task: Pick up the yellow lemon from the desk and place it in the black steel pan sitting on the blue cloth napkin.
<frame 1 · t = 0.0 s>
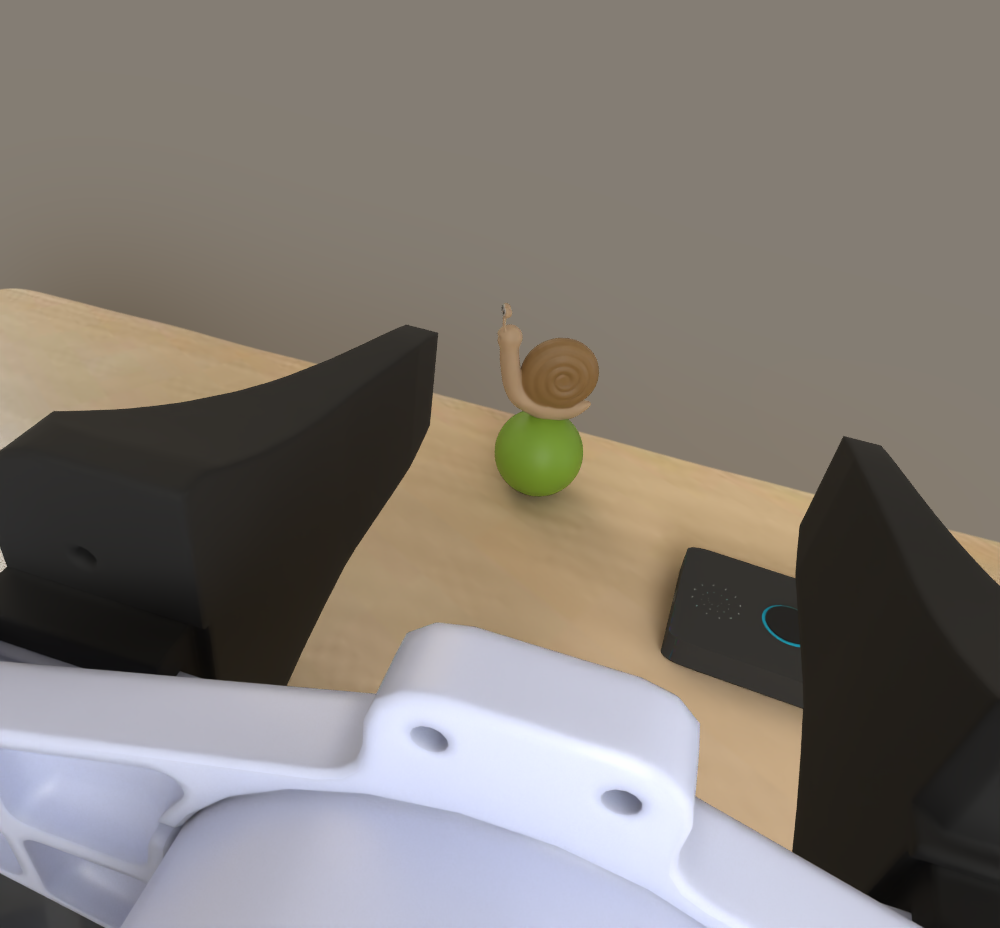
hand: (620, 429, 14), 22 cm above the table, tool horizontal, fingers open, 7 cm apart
snail figurine: (523, 489, 51), on the table
smart home device: (857, 674, 41), on the table
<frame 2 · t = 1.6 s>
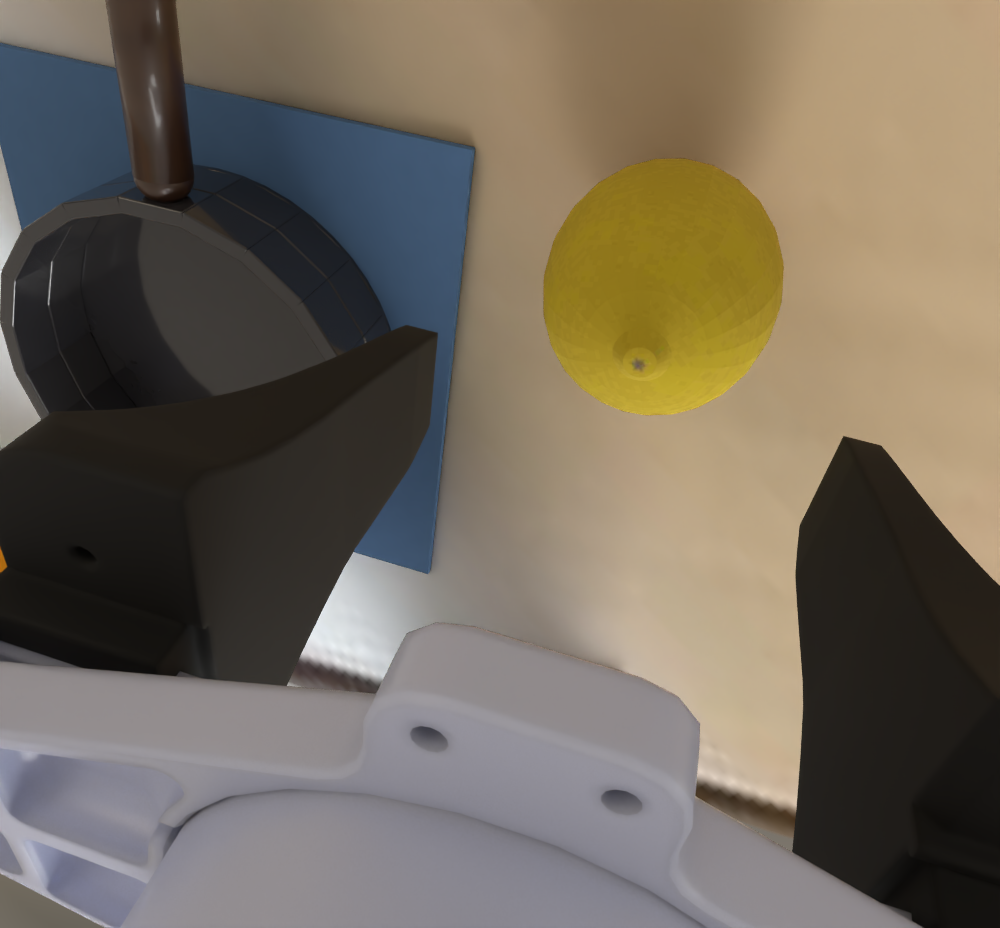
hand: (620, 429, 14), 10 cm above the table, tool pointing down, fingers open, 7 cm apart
napkin: (238, 342, 29), on the table
lemon: (677, 226, 22), on the table
pan handle: (144, 29, 20), point 2 cm above the table
pan: (238, 342, 29), resting on napkin
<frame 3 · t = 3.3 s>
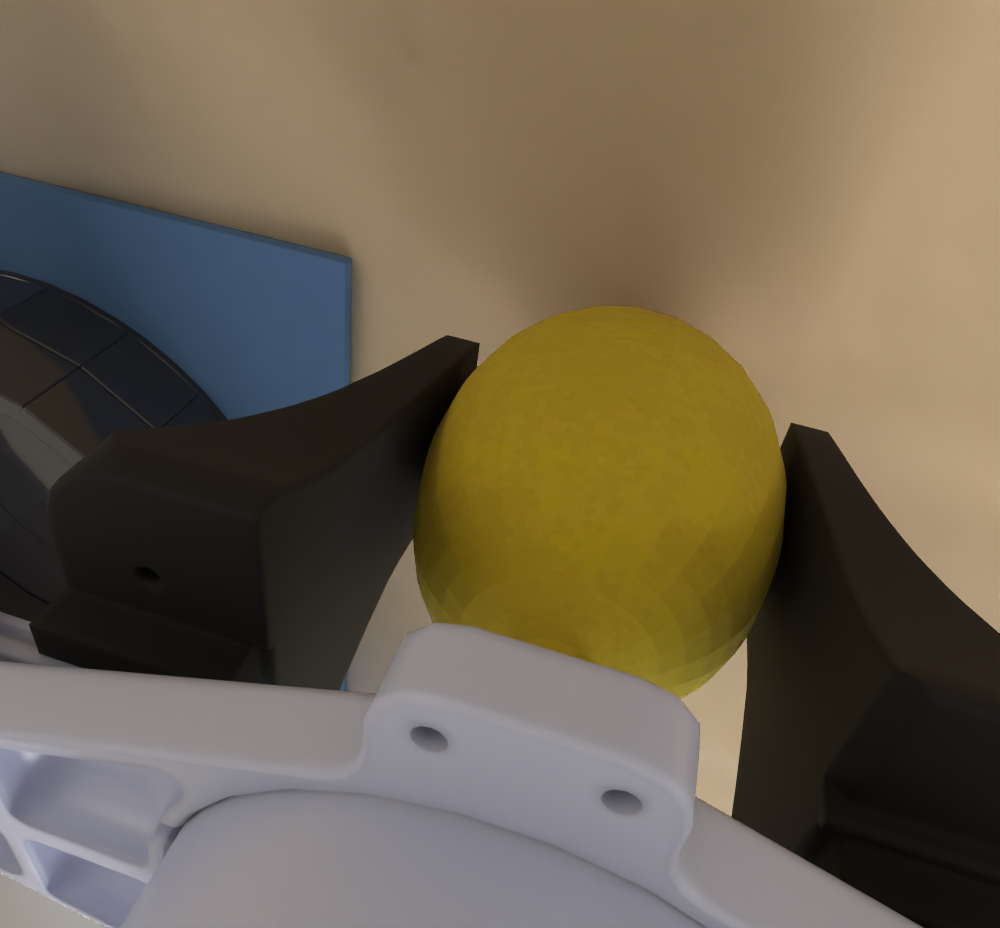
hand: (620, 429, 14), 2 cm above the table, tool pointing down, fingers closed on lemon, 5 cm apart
napkin: (80, 478, 22), on the table
lemon: (635, 369, 16), on the table, touching gripper
pan: (80, 478, 22), resting on napkin
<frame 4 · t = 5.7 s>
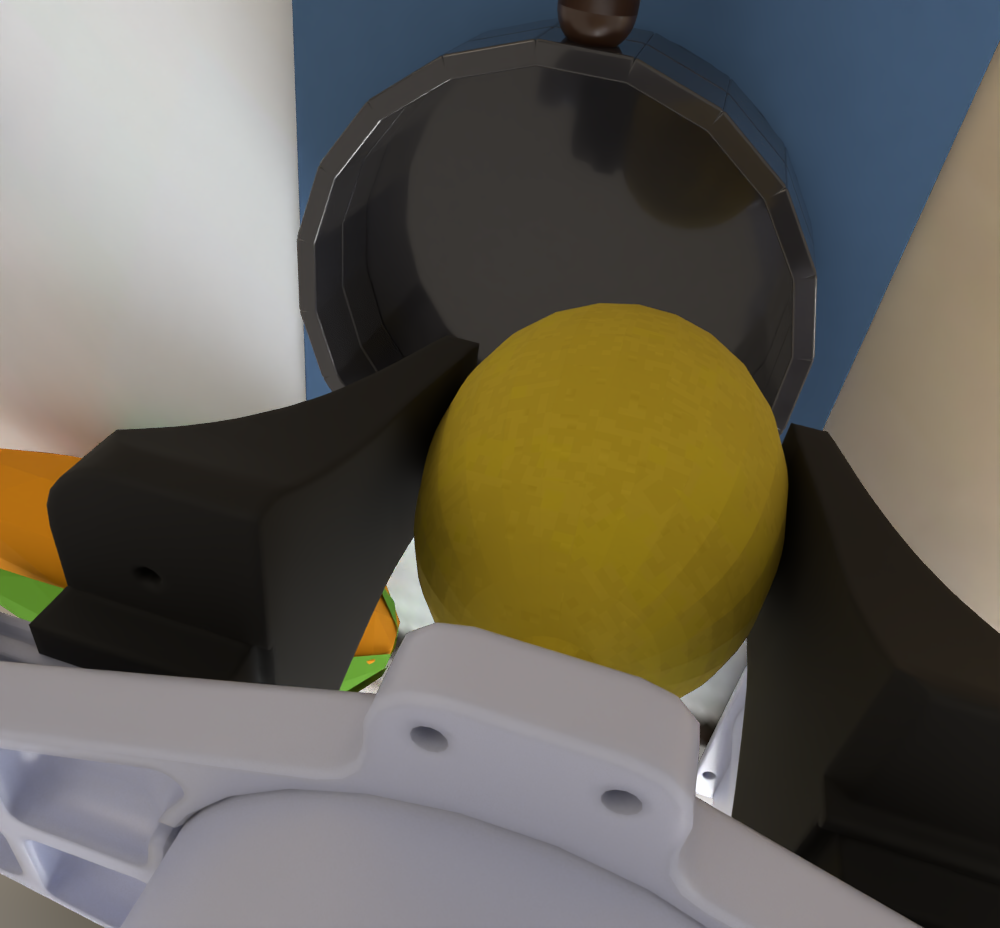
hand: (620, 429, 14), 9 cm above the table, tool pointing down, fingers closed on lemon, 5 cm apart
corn: (197, 503, 33), on the table
napkin: (568, 273, 22), on the table
lemon: (636, 367, 16), point 7 cm above the table, touching gripper
pan: (568, 273, 22), resting on napkin
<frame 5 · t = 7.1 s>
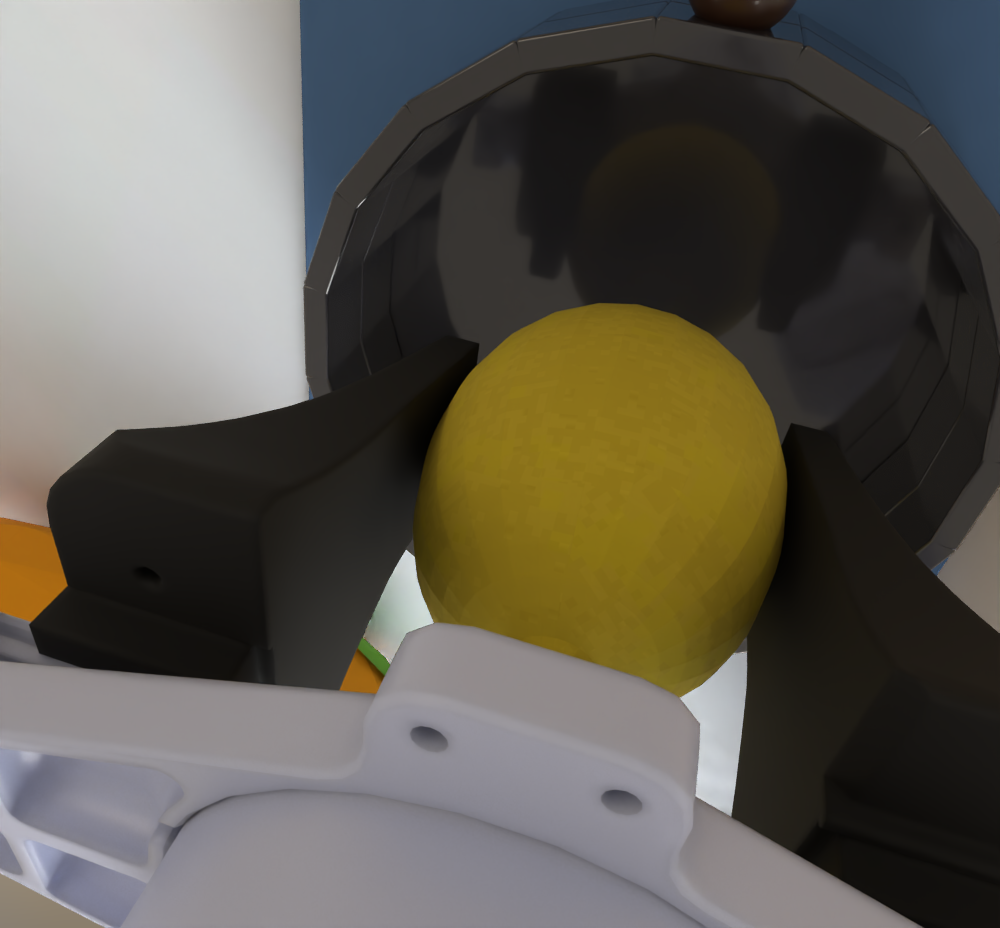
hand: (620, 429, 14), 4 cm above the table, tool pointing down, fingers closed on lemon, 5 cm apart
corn: (179, 573, 28), on the table
napkin: (649, 325, 17), on the table
lemon: (636, 367, 16), point 2 cm above the table, touching gripper
pan: (649, 325, 17), resting on napkin
when the fingers open (2 cm above the table, at t = 8.2 s): lemon stays where it is, resting on pan.
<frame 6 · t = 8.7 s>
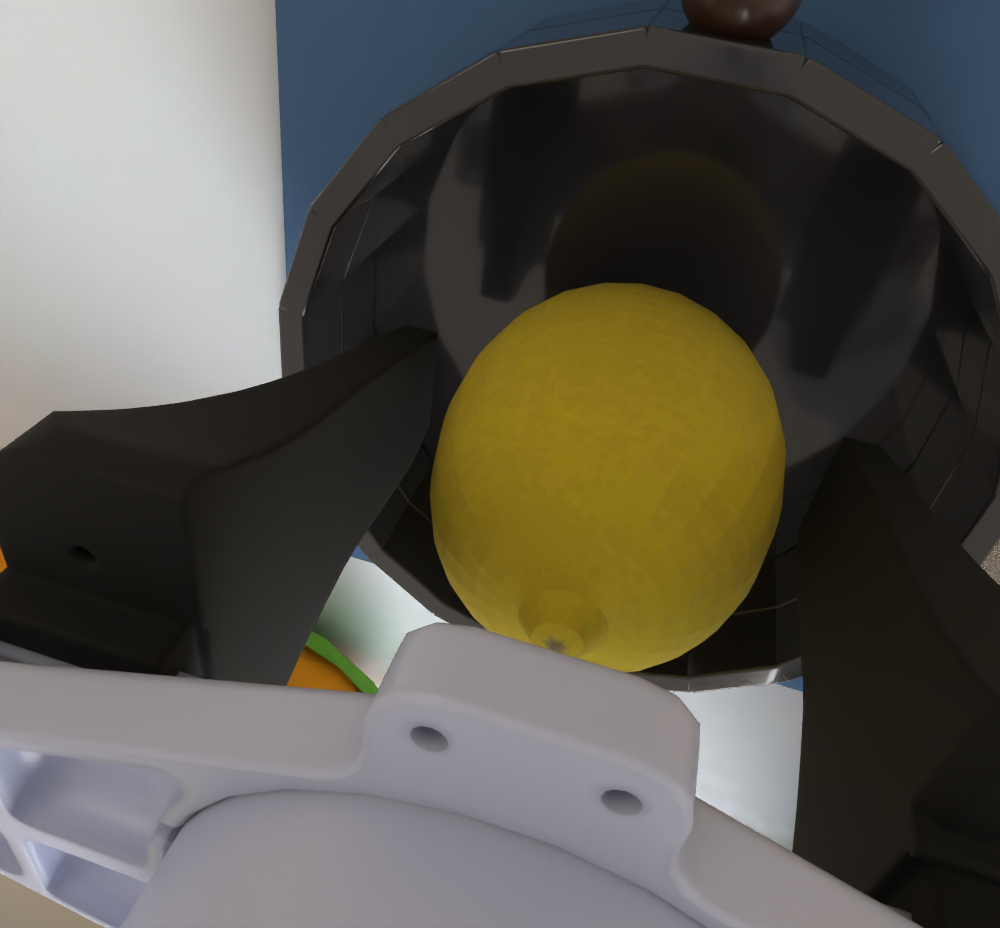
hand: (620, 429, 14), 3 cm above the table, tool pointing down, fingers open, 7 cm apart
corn: (163, 592, 27), on the table
napkin: (644, 344, 17), on the table
lemon: (640, 348, 16), resting on pan
pan: (644, 344, 17), resting on napkin
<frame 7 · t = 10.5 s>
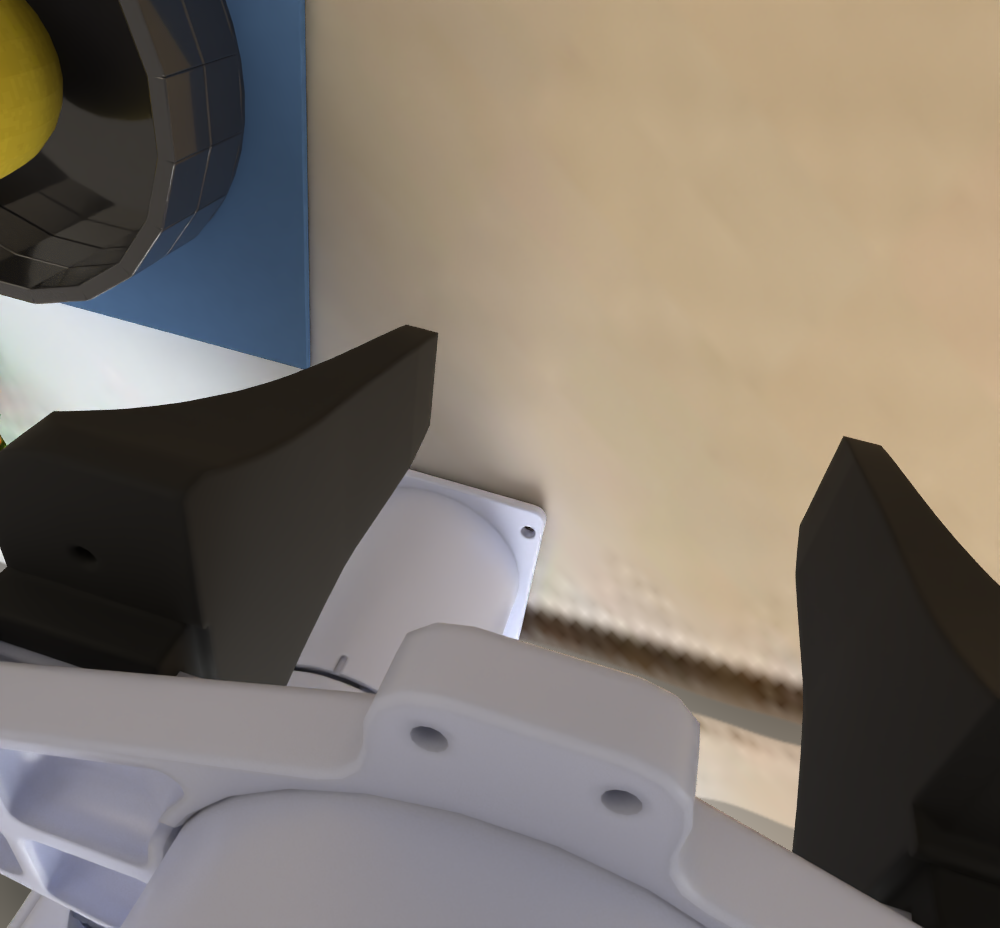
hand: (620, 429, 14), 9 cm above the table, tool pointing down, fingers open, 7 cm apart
napkin: (50, 44, 23), on the table
lemon: (41, 44, 23), resting on pan
pan: (50, 44, 23), resting on napkin
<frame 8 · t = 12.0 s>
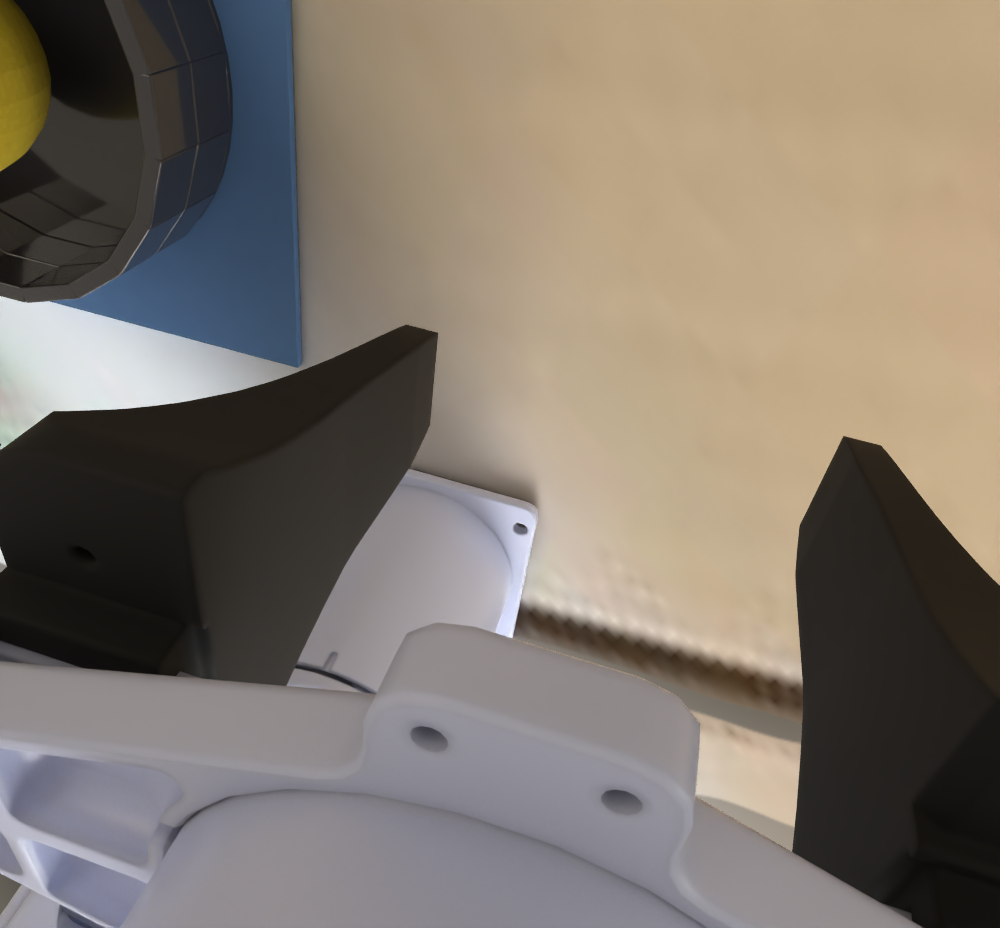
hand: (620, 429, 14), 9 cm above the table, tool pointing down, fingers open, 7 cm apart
napkin: (39, 44, 23), on the table
lemon: (30, 43, 23), resting on pan
pan: (39, 44, 23), resting on napkin
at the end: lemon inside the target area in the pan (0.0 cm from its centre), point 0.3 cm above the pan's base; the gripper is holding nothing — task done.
